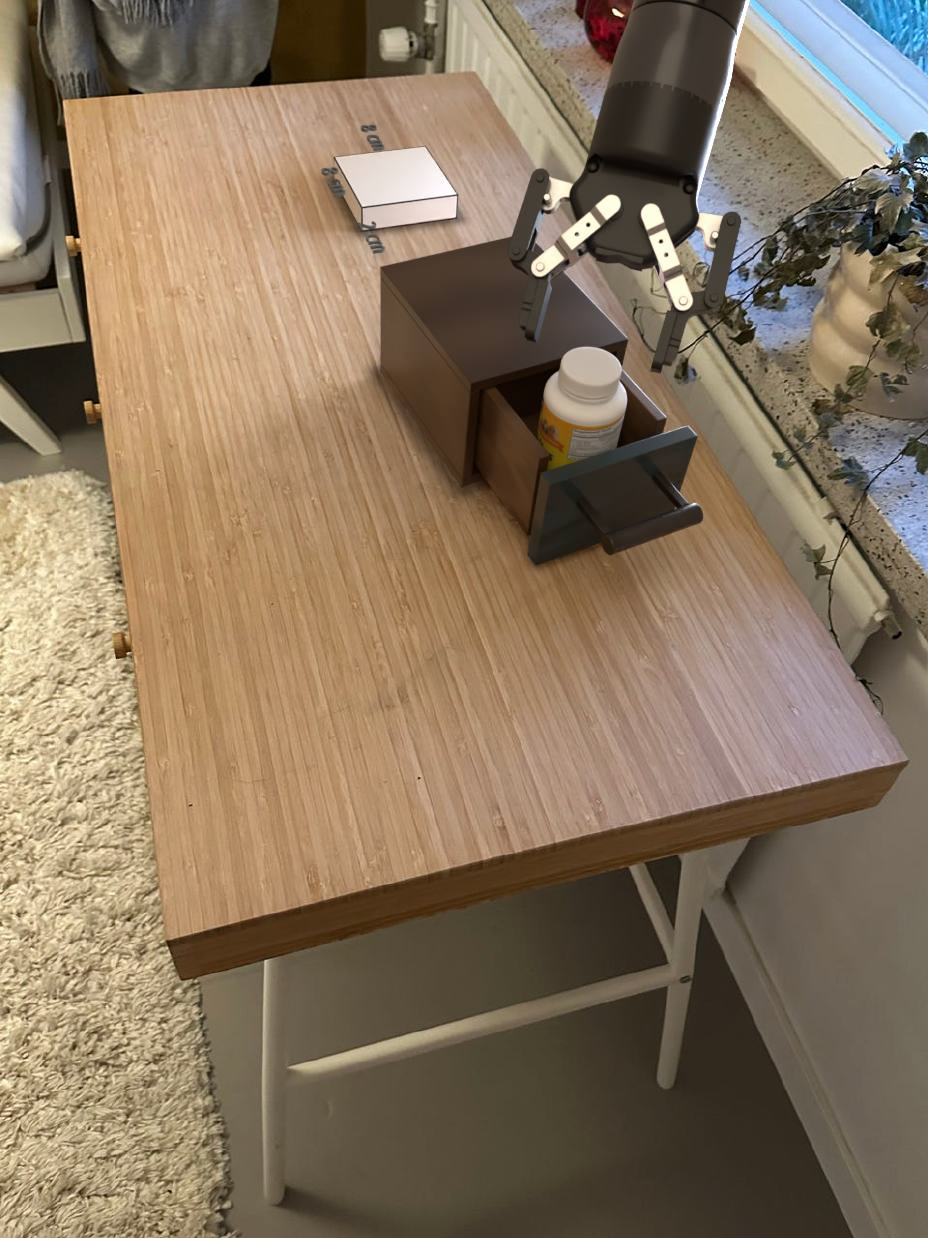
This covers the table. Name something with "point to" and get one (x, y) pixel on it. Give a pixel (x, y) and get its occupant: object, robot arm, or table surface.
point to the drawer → (584, 474)
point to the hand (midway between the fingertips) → (593, 355)
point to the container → (392, 187)
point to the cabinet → (473, 338)
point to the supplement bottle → (582, 407)
